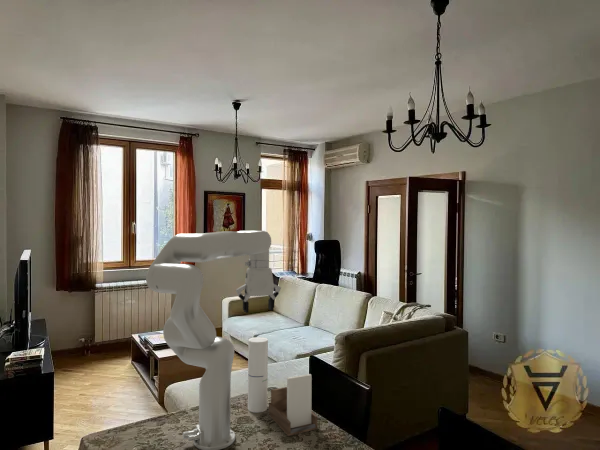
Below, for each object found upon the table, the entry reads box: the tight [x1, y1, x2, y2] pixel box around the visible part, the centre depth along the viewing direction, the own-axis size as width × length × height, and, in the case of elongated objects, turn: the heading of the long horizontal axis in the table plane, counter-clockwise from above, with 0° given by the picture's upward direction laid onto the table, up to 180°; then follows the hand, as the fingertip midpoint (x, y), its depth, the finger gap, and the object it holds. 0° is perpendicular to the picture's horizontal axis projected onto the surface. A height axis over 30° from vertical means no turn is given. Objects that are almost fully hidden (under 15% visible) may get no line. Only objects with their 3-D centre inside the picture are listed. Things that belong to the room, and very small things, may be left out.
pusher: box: [286, 373, 313, 428], centre depth 132 cm, size 8×1×16 cm, turn 116°
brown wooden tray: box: [268, 386, 319, 437], centre depth 136 cm, size 11×17×9 cm, turn 26°
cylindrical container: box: [247, 336, 269, 413], centre depth 147 cm, size 7×7×25 cm
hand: (258, 311), depth 148 cm, fingers open, 9 cm apart
